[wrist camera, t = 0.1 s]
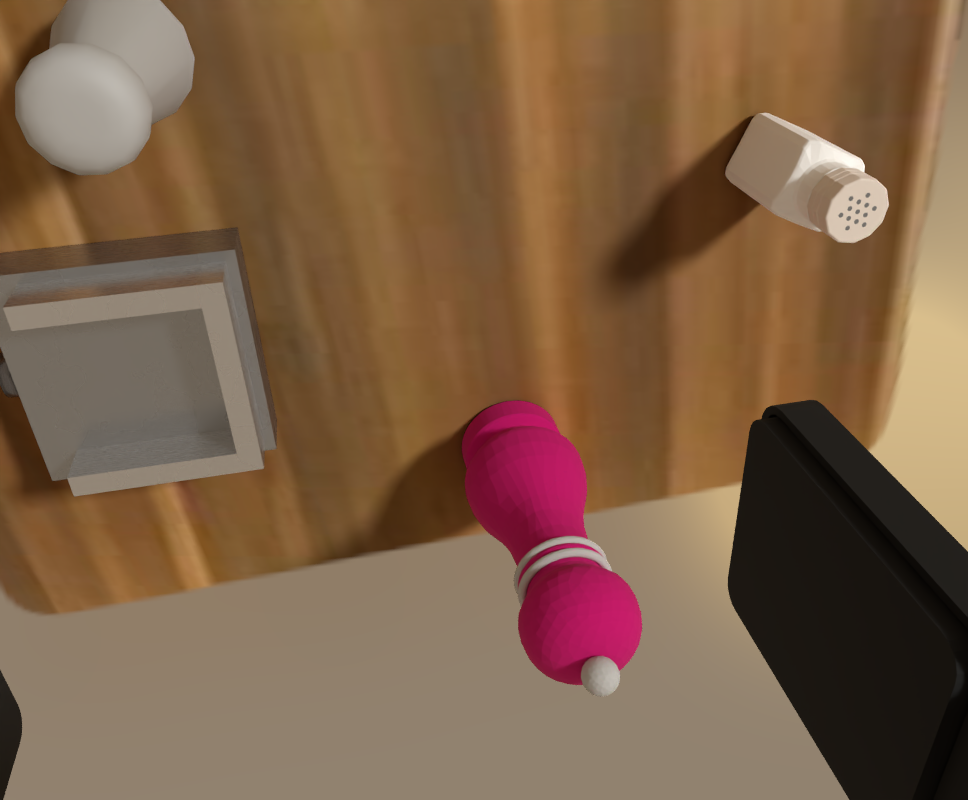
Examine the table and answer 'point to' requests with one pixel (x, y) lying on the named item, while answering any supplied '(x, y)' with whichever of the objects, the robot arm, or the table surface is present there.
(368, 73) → the table surface
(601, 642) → the pepper mill
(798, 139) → the salt shaker
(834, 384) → the table surface
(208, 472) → the grey square tray
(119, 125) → the salt shaker
